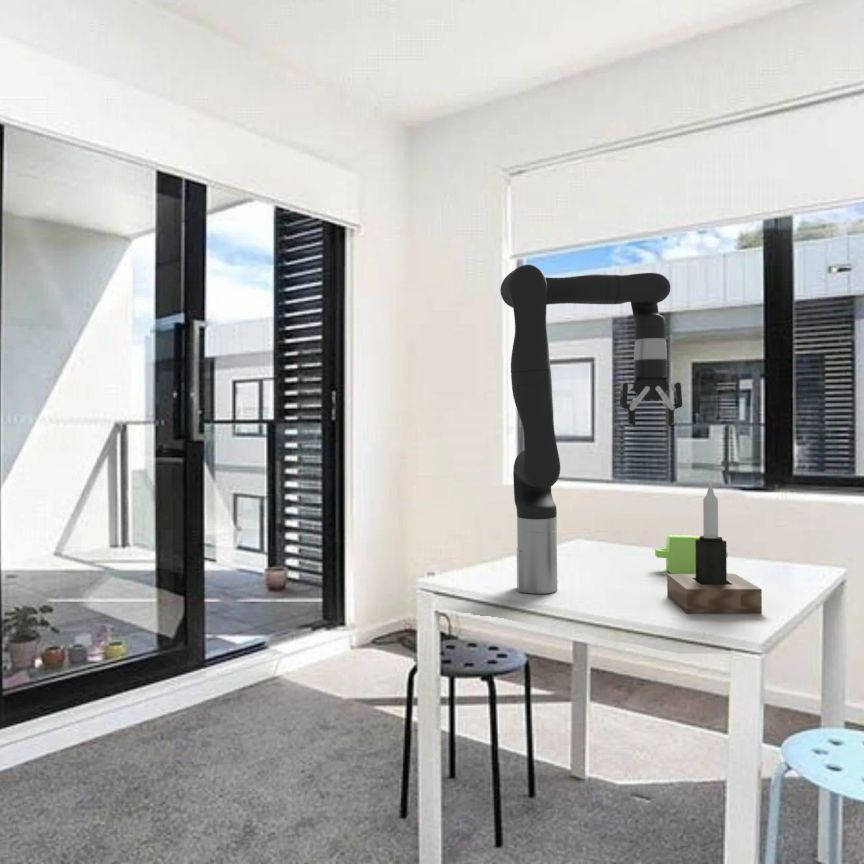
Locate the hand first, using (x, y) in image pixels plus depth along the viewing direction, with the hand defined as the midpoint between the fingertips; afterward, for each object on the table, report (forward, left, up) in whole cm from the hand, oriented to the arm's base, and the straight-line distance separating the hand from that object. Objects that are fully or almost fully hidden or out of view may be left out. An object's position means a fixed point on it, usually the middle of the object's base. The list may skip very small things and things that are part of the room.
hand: (650, 426), depth 178 cm
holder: (+8, -20, -38) cm, 44 cm away
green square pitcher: (+14, +14, -38) cm, 43 cm away
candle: (+8, -19, -37) cm, 43 cm away
